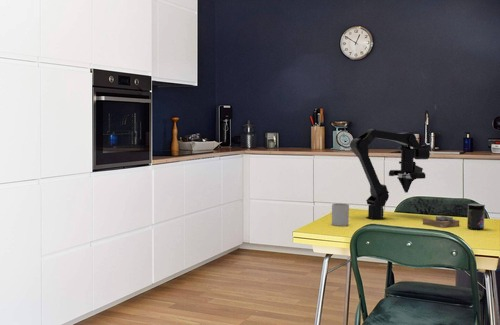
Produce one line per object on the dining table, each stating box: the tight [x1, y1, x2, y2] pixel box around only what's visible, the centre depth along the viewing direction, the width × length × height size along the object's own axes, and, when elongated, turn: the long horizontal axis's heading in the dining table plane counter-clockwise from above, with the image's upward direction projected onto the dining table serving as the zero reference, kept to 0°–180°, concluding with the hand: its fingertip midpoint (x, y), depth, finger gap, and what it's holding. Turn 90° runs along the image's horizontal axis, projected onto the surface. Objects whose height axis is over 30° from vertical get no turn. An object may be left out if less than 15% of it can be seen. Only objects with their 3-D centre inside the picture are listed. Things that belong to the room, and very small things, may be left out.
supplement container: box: [466, 203, 486, 231], centre depth 265 cm, size 7×7×10 cm
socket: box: [435, 215, 454, 221], centre depth 274 cm, size 5×5×4 cm
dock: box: [422, 217, 460, 229], centre depth 275 cm, size 10×11×3 cm
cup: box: [331, 203, 350, 227], centre depth 273 cm, size 7×10×9 cm
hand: (406, 192), depth 296 cm, fingers closed
